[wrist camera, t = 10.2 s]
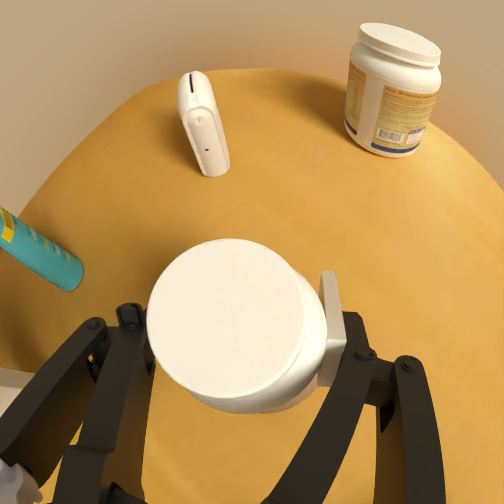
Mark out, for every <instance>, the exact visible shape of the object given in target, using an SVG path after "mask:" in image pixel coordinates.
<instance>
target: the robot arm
mask: <svg viewBox="0 0 504 504" xmlns="http://www.w3.org/2000/svg"><path fill="white" fill-rule="evenodd" d="M318 298H319V300H320V302H321V304H322V307H323V310H324V313H325V317H326V323H327V343H326V349H325V353H324V357H323V360H322V362H321V365H320V367H319V369H318V371H317V386H321V387H331V388H330V390H329V392H328V394H327V396H326V398H325V400H324V402H323V404H322V406H321V408H320V410H319V412H318V414H317V416H316V418H315V420H314V422H313V424H312V426H311V428H310V429H309V431H308V433H307V435H306V437H305V439H304V440H303V442H302V444H301V446H300V447H299V449H298V451H297V453H296V454H295V456H294V458H293V459H292V461H291V463H290V464H289V466H288V467H287V469H286V471H285V472H284V474H283V475H282V477H281V478H280V480H279V481H278V483H277V484H276V486H275V487H274V489H273V490H272V492H271V493H270V494H269V496H268V497H267V498H265V499H264V500H263V501H262V502H261V504H322V503H323V501H324V499H325V497H326V495H327V493H328V491H329V489H330V487H331V485H332V483H333V481H334V479H335V477H336V475H337V472H338V470H339V468H340V466H341V463H342V461H343V459H344V456H345V454H346V452H347V449H348V447H349V444H350V442H351V439H352V436H353V434H354V431H355V428H356V426H357V423H358V420H359V417H360V414H361V411H362V408H363V405H364V403H365V404H369V405H373V406H376V474H375V489H374V501H373V504H446V495H445V480H444V469H443V461H442V453H441V446H440V439H439V433H438V428H437V422H436V417H435V412H434V407H433V403H432V398H431V394H430V390H429V386H428V382H427V378H426V374H425V371H424V367H423V365H422V363H421V361H419V360H418V359H417V358H415V357H413V356H408V355H404V356H400V357H398V358H397V359H396V360H395V362H389V361H385V360H382V359H380V358H378V357H377V354H376V353H375V351H374V350H373V349H372V348H370V347H369V343H368V339H367V335H366V331H365V327H364V324H363V320H362V317H361V316H360V315H359V314H358V313H357V312H344V311H342V309H341V303H340V298H339V293H338V287H337V282H336V277H335V272H334V271H322V272H321V281H320V289H319V297H318ZM147 308H148V307H147ZM147 308H146V309H145V310H144V311H143V309H142V306H141V305H140V304H138V303H126V304H122V305H120V306H119V307H118V308H117V309H116V314H117V318H118V321H119V327H109V326H107V325H106V322H105V320H104V319H102V318H98V317H94V318H90V319H88V320H86V321H85V322H83V324H82V325H81V326H80V327H79V328H78V329H77V330H76V331H75V332H74V333H73V334H72V335H71V336H70V337H69V338H68V339H67V340H66V341H65V342H64V343H63V344H62V345H61V347H60V348H59V349H58V350H57V351H56V352H55V353H54V354H53V355H52V356H51V357H50V358H49V360H48V361H47V362H46V363H45V364H44V365H43V366H42V367H41V369H40V370H39V371H38V372H37V373H36V374H35V375H34V377H33V378H32V379H31V380H30V381H29V382H28V384H27V385H26V386H25V387H24V388H23V389H22V391H21V392H20V393H19V394H18V396H17V397H16V398H15V399H14V400H13V402H12V403H11V404H10V405H9V407H8V408H7V409H6V410H5V412H4V413H3V414H2V416H1V417H0V504H33V502H36V503H40V502H41V501H42V499H43V496H42V494H41V492H40V491H39V490H38V489H39V488H41V487H42V486H43V485H44V484H45V482H46V481H47V480H48V479H49V478H50V476H51V475H52V473H53V471H54V470H55V468H56V466H57V465H58V463H59V461H60V459H61V458H62V456H63V458H62V462H61V465H60V469H59V473H58V478H57V482H56V486H55V491H54V496H53V501H52V502H51V503H47V504H148V503H146V502H145V497H144V491H143V488H142V484H141V476H142V464H143V453H144V444H145V435H146V427H147V419H148V412H149V405H150V398H151V391H152V385H153V379H154V373H155V367H156V364H155V360H154V359H155V355H154V353H153V351H152V348H151V346H150V342H149V339H148V334H147V324H146V318H147ZM90 355H92V357H93V359H92V360H91V361H89V359H88V357H89V356H90ZM83 421H84V422H83ZM82 422H83V425H82V428H81V432H80V435H79V439H78V442H77V444H76V445H69V444H70V442H71V440H72V439H73V437H74V435H75V434H76V432H77V430H78V429H79V427H80V425H81V424H82ZM68 445H69V446H68Z"/></svg>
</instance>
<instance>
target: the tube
mask: <svg viewBox="0 0 504 504" xmlns="http://www.w3.org/2000/svg"><path fill="white" fill-rule="evenodd" d="M0 247H1V248H2V249H4V250H5V251H6V252H7V253H9V254H10V255H11V256H13V257H14V258H15V259H17V260H18V261H19V262H21V263H22V264H23V265H25V266H26V267H28V268H29V269H31V270H32V271H34V272H35V273H37V274H38V275H40V276H41V277H43V278H44V279H46V280H47V281H49V282H50V283H52V284H54V285H55V286H57V287H59V288H60V289H62V290H64V291H67V292H68V291H72V290H73V289H75V288H76V287H77V286H78V285H79V283H80V281H81V279H82V276H83V265H82V262H81V261H80V260H79V259H77V258H76V257H74V256H73V255H71V254H70V253H68V252H67V251H65V250H64V249H62V248H61V247H59V246H58V245H56V244H55V243H53V242H52V241H50V240H49V239H47V238H46V237H44V236H43V235H41V234H40V233H38V232H37V231H35V230H34V229H32V228H31V227H29V226H28V225H26V224H25V223H23V222H22V221H21V220H19V219H18V218H16V217H15V216H13V215H12V214H11V213H9V212H8V211H6V210H5V209H3V208H2V207H0Z"/></svg>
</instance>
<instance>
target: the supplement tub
mask: <svg viewBox="0 0 504 504" xmlns="http://www.w3.org/2000/svg"><path fill="white" fill-rule="evenodd" d="M358 39H359V40H360V41H358V42H357V43H355V44H354V45H353V47H352V49H351V53H350V65H349V76H348V85H347V95H346V104H345V114H344V124H345V128H346V130H347V132H348V134H349V135H350V136H351V138H352V139H353V140H354V141H355V142H356V143H358V144H359V145H360V146H362V147H363V148H365V149H366V150H368V151H370V152H372V153H375V154H378V155H381V156H384V157H390V158H401V157H406V156H409V155H411V154H412V153H414V152H415V150H416V149H417V147H418V146H419V144H420V141H421V138H422V136H423V133H424V130H425V128H426V125H427V122H428V120H429V116H430V114H431V111H432V108H433V105H434V102H435V99H436V96H437V93H438V90H439V87H440V84H441V75H440V72H439V69H438V68H437V66H439V64H440V55H441V51H440V49H439V48H438V47H437V46H436V45H434V44H433V43H432V42H431V41H429V40H427V39H425V38H424V37H422V36H420V35H417V34H415V33H413V32H411V31H408V30H405V29H402V28H399V27H396V26H392V25H387V24H381V23H365V24H362V25H361V26H360V30H359V34H358Z"/></svg>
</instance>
